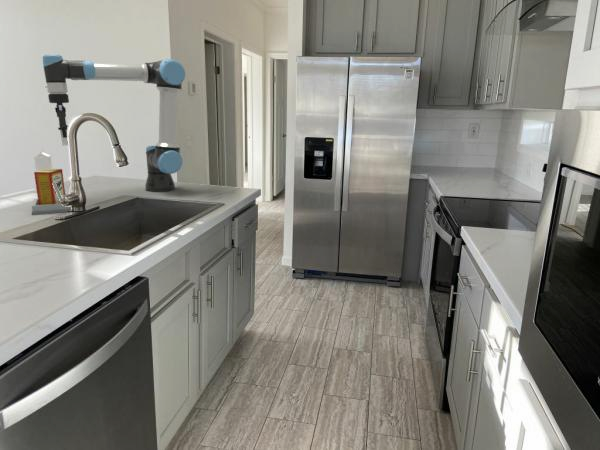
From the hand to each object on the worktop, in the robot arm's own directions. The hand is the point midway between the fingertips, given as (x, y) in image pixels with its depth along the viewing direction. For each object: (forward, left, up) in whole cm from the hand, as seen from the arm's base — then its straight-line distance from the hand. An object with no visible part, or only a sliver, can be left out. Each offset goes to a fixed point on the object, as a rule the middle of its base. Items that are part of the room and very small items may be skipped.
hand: (65, 143), depth 195 cm
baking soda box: (+8, +9, -26) cm, 28 cm away
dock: (+8, +9, -27) cm, 29 cm away
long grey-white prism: (+11, -26, -27) cm, 39 cm away
